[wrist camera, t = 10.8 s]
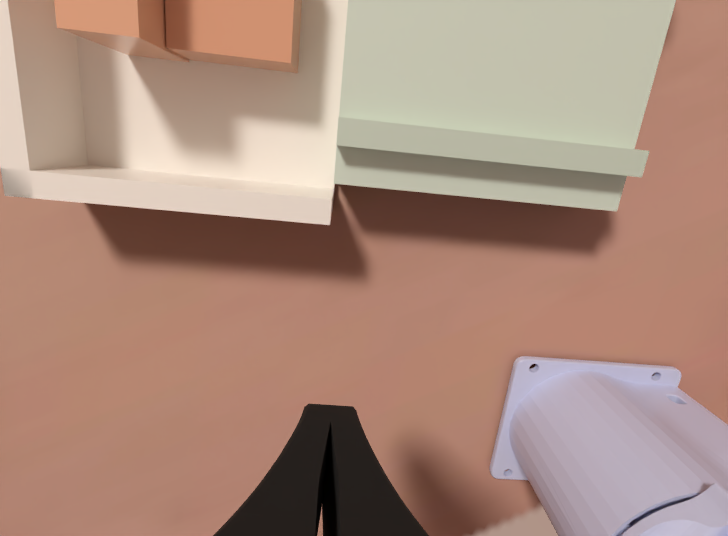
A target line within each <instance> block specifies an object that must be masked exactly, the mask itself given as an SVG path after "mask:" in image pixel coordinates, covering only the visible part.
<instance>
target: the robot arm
mask: <svg viewBox="0 0 728 536" xmlns="http://www.w3.org/2000/svg"><path fill="white" fill-rule="evenodd" d="M532 364H536V365H535V367H534V368H531V369H529V367H530V366H531V365H532ZM654 373H655V375H654V376H652V375H653V374H654ZM680 379H681V372H680V371H679V370H678V369H676V368H675V367H672V366H658V365H644V364H629V363H615V362H601V361H587V360H572V359H558V358H544V357H530V356H521V357H519V358H517V359H516V360H515V362H514V364H513V369H512V373H511V377H510V382H509V386H508V390H507V395H506V399H505V403H504V407H503V412H502V416H501V420H500V425H499V429H498V433H497V438H496V442H495V446H494V450H493V455H492V459H491V463H490V472H491V475H492V476H493V477H494V478H497V479H515V480H529V482H530V484H531V486H532V488H533V489H534V491H535V493H536V495H537V497H538V499H539V500H540V502H541V504H542V506H543V508H544V510H545V512H546V513H547V515H548V517H549V519H550V521H551V523H552V525H553V526H554V528H555V530H556V532H557V534H558V536H728V425H727V424H726V423H725V422H723V421H722V420H721V419H719V418H718V417H717V416H715V415H714V414H713V413H711V412H710V411H709V410H707V409H706V408H705V407H703V406H702V405H701V404H699V403H698V402H697V401H695V400H694V399H692V398H691V397H690V396H688V395H687V394H686V393H684V392H683V391H682V390H680V389H679V388H678V385H679V382H680ZM507 469H509V470H508V471H505V470H507ZM321 507H322V515H323V536H429V535H428V534H427V533H426V532H425V530H424V529H423V528H422V526H421V525H420V524H419V523H418V521H417V520H416V519H415V518H414V516H413V515H412V513H411V512H410V511H409V509H408V508H407V507H406V505H405V504H404V502H403V501H402V499H401V498H400V497H399V495H398V494H397V492H396V490H395V489H394V487H393V486H392V484H391V482H390V481H389V479H388V478H387V476H386V474H385V473H384V471H383V469H382V467H381V465H380V464H379V462H378V460H377V458H376V456H375V454H374V452H373V450H372V448H371V446H370V444H369V442H368V440H367V438H366V436H365V433H364V431H363V429H362V426H361V424H360V421H359V418H358V415H357V412H356V410H355V409H354V407H351V406H335V405H320V404H308V405H307V406H305V407H304V410H303V413H302V416H301V418H300V420H299V423H298V425H297V427H296V429H295V430H294V432H293V434H292V436H291V438H290V439H289V441H288V443H287V444H286V446H285V448H284V449H283V451H282V453H281V454H280V456H279V457H278V459H277V460H276V462H275V463H274V464H273V466H272V467H271V469H270V470H269V471H268V473H267V474H266V476H265V477H264V478H263V480H262V481H261V482H260V484H259V485H258V486H257V488H256V489H255V490H254V491H253V493H252V494H251V495H250V496H249V497H248V499H247V500H246V501H245V502H244V503H243V504H242V506H241V507H240V508H239V509H238V510H237V511H236V512H235V513H234V514H233V516H232V517H231V518H230V519H229V520H228V521H227V522H226V523H225V524H224V525H223V526H222V527H221V528H220V529H219V530H218V531H217V532H216V533H215V534H214V535H213V536H317V533H318V526H319V520H320V513H321Z"/></svg>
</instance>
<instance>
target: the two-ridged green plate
mask: <svg viewBox="0 0 728 536" xmlns="http://www.w3.org/2000/svg"><path fill="white" fill-rule="evenodd" d="M675 2H676V0H348V9H347V21H346V34H345V47H344V59H343V72H342V85H341V97H340V110H339V117H338V130H337V143H336V145H337V148H336V161H335V173H334V184H342V185H352V186H363V187H373V188H383V189H393V190H403V191H414V192H424V193H434V194H444V195H454V196H465V197H475V198H485V199H495V200H505V201H515V202H526V203H536V204H546V205H556V206H566V207H577V208H587V209H597V210H607V211H617V209H618V206H619V202H620V198H621V195H622V191H623V188H624V184H625V181H626V177H627V176H634V177H642V175H643V171H644V168H645V165H646V161H647V158H648V154H649V151H645V150H636V149H634V148H635V145H636V141H637V138H638V134H639V131H640V127H641V123H642V120H643V116H644V113H645V109H646V106H647V102H648V98H649V95H650V91H651V88H652V84H653V81H654V77H655V73H656V70H657V66H658V63H659V59H660V56H661V52H662V48H663V45H664V41H665V38H666V34H667V31H668V27H669V23H670V20H671V16H672V13H673V9H674V6H675Z"/></svg>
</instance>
